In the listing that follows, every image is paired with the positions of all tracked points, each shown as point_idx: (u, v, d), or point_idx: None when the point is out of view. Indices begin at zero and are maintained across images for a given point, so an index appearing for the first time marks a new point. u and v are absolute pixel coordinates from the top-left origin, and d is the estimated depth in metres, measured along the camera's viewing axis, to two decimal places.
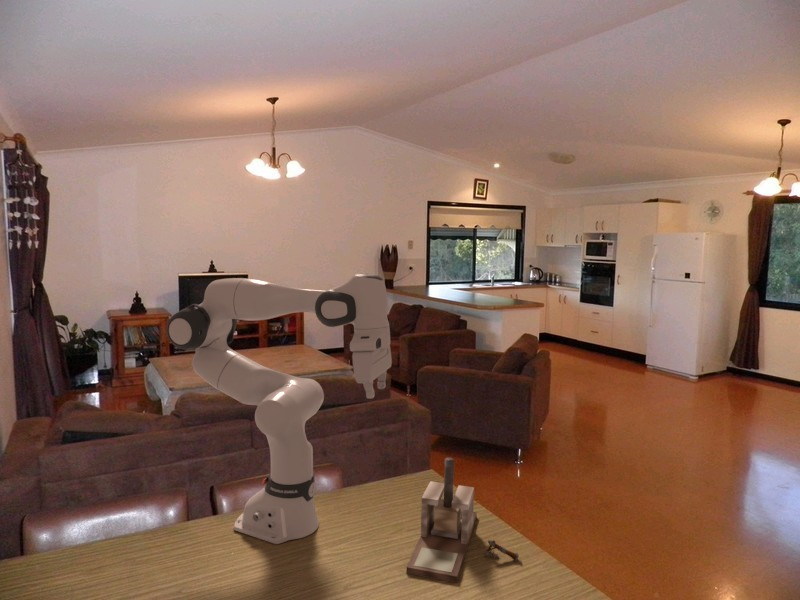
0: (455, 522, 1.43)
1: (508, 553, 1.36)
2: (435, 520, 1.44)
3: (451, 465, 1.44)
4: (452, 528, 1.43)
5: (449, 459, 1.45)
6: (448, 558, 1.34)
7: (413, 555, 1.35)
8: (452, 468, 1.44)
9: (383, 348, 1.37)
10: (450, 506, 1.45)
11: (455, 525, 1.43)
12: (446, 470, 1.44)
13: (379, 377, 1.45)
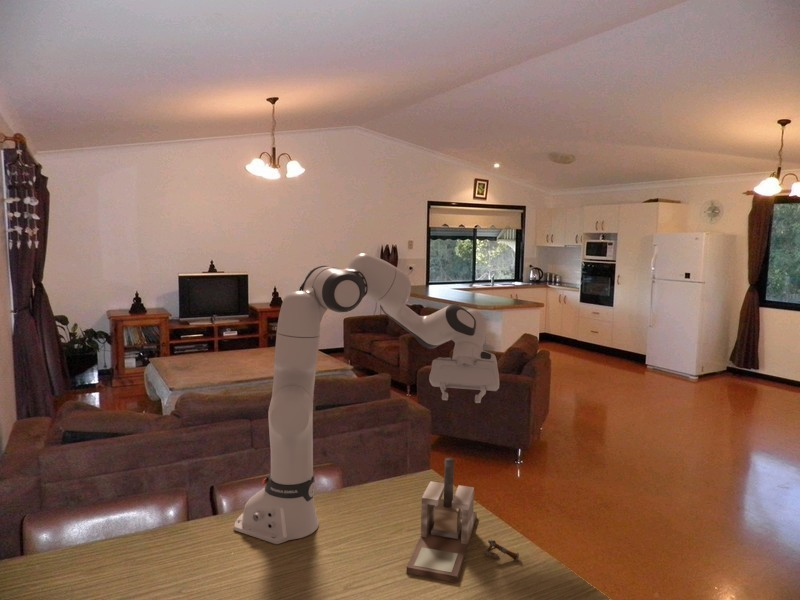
0: (455, 522, 1.43)
1: (508, 553, 1.36)
2: (435, 520, 1.44)
3: (451, 465, 1.44)
4: (452, 528, 1.43)
5: (449, 459, 1.45)
6: (448, 558, 1.34)
7: (413, 555, 1.35)
8: (452, 468, 1.44)
9: None
10: (450, 506, 1.45)
11: (455, 525, 1.43)
12: (446, 470, 1.44)
13: (443, 389, 1.60)
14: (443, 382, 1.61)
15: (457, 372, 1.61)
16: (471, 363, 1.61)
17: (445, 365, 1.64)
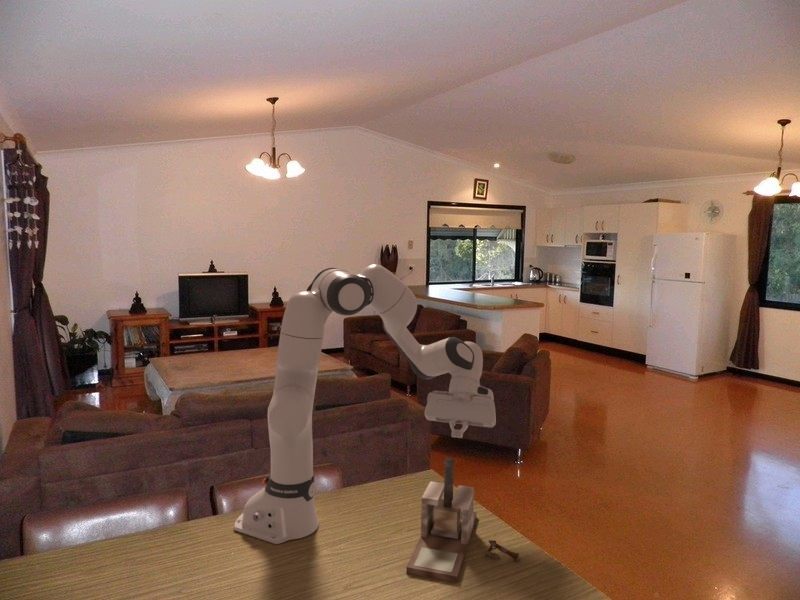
0: (455, 522, 1.43)
1: (509, 553, 1.36)
2: (435, 520, 1.44)
3: (451, 465, 1.44)
4: (452, 528, 1.43)
5: (449, 459, 1.45)
6: (448, 558, 1.34)
7: (413, 555, 1.35)
8: (452, 468, 1.44)
9: None
10: (450, 506, 1.45)
11: (455, 525, 1.43)
12: (446, 470, 1.44)
13: None
14: (439, 417, 1.58)
15: (453, 407, 1.59)
16: (467, 398, 1.59)
17: (441, 399, 1.61)
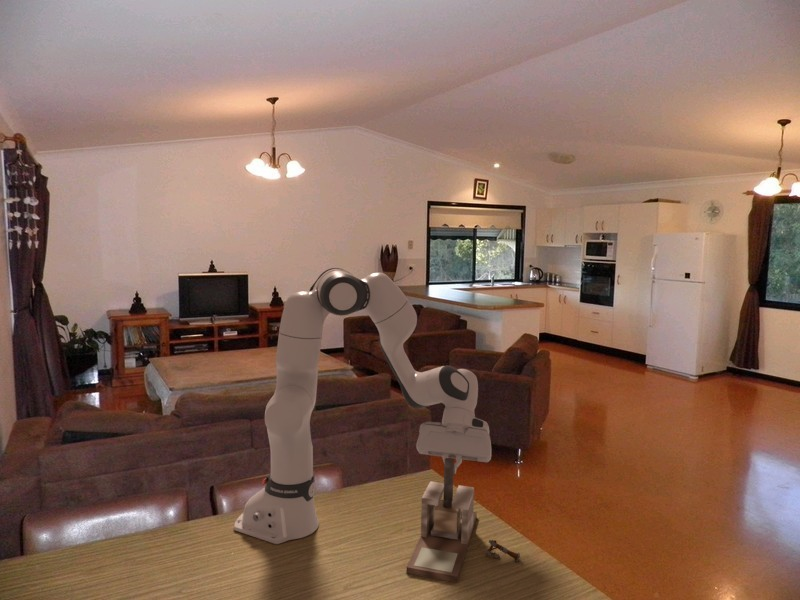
0: (455, 523, 1.42)
1: (509, 553, 1.36)
2: (435, 521, 1.44)
3: (451, 466, 1.43)
4: (452, 529, 1.43)
5: (449, 460, 1.44)
6: (448, 558, 1.34)
7: (413, 555, 1.35)
8: (452, 469, 1.44)
9: None
10: (450, 507, 1.45)
11: (455, 526, 1.43)
12: (446, 471, 1.44)
13: None
14: (431, 451, 1.50)
15: (446, 440, 1.50)
16: (461, 431, 1.50)
17: (434, 431, 1.53)
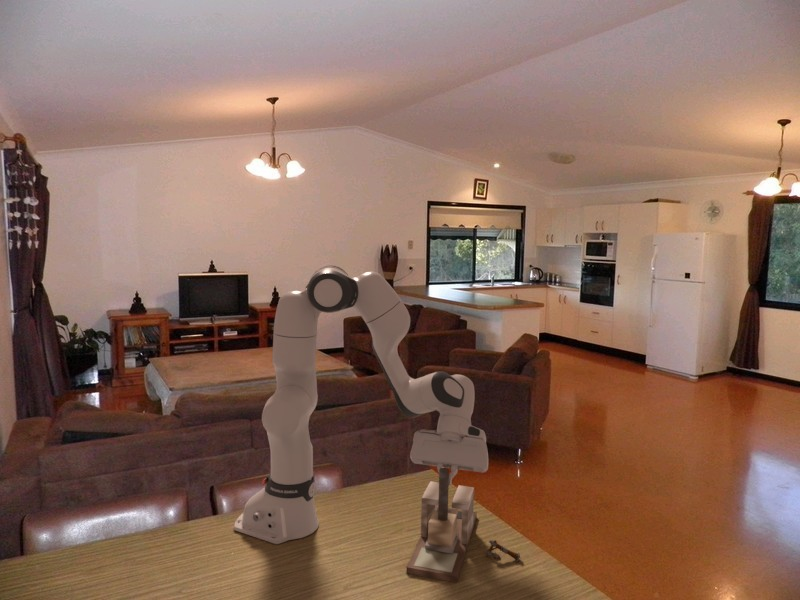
0: (450, 536, 1.36)
1: (510, 553, 1.36)
2: (429, 534, 1.38)
3: (446, 476, 1.37)
4: (447, 542, 1.37)
5: (444, 470, 1.38)
6: (448, 558, 1.34)
7: (413, 555, 1.35)
8: (447, 479, 1.37)
9: None
10: (445, 519, 1.38)
11: (450, 539, 1.36)
12: (441, 481, 1.37)
13: None
14: (425, 460, 1.43)
15: (441, 449, 1.44)
16: (457, 440, 1.44)
17: (428, 440, 1.46)
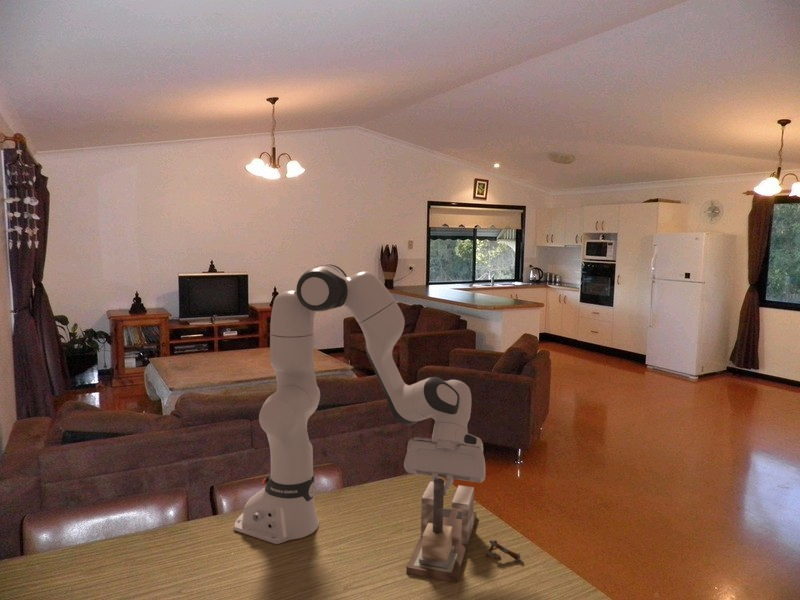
0: (445, 550, 1.30)
1: (510, 553, 1.36)
2: (423, 547, 1.32)
3: (441, 487, 1.31)
4: (442, 556, 1.31)
5: (438, 480, 1.32)
6: None
7: (413, 555, 1.35)
8: (442, 490, 1.31)
9: None
10: (440, 532, 1.32)
11: (445, 553, 1.30)
12: (435, 492, 1.31)
13: None
14: (420, 470, 1.37)
15: (436, 458, 1.38)
16: (453, 448, 1.38)
17: (423, 448, 1.41)
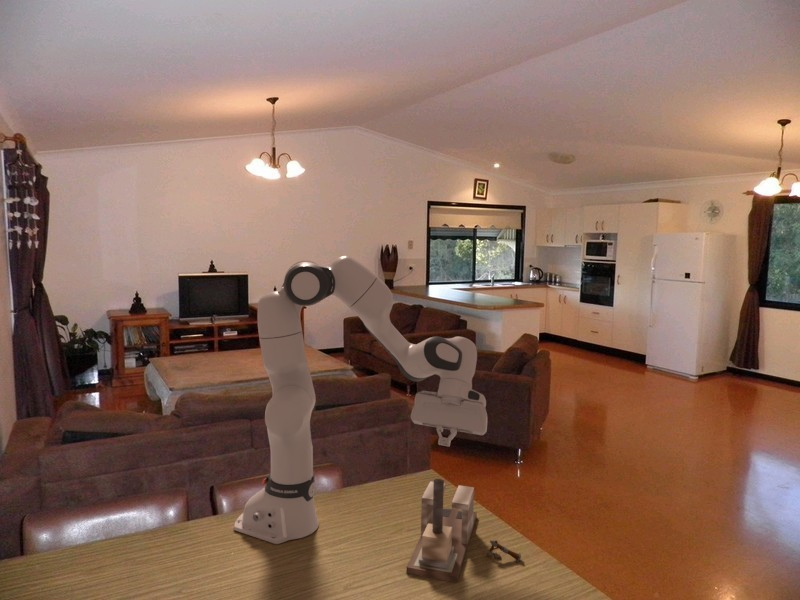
0: (445, 550, 1.30)
1: (510, 553, 1.36)
2: (423, 548, 1.31)
3: (440, 487, 1.31)
4: (441, 557, 1.30)
5: (438, 481, 1.32)
6: None
7: (413, 555, 1.35)
8: (442, 491, 1.31)
9: None
10: (439, 532, 1.32)
11: (445, 553, 1.30)
12: (435, 493, 1.31)
13: (440, 433, 1.45)
14: (425, 422, 1.47)
15: (441, 412, 1.47)
16: (457, 403, 1.46)
17: (429, 402, 1.49)
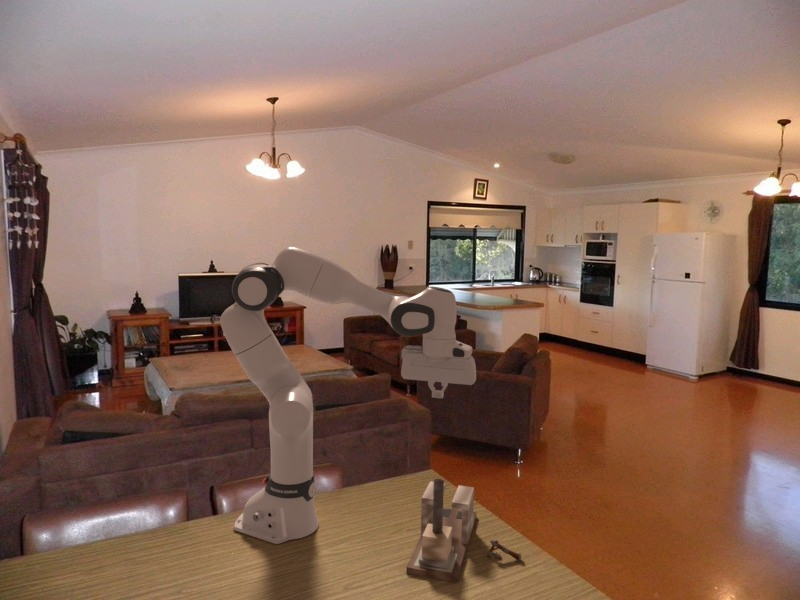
0: (445, 550, 1.30)
1: (511, 553, 1.36)
2: (423, 548, 1.31)
3: (440, 487, 1.31)
4: (441, 557, 1.30)
5: (438, 481, 1.32)
6: None
7: (413, 555, 1.35)
8: (442, 491, 1.31)
9: None
10: (439, 532, 1.32)
11: (445, 553, 1.30)
12: (435, 493, 1.31)
13: (432, 387, 1.50)
14: None
15: (429, 369, 1.49)
16: (443, 360, 1.47)
17: (416, 360, 1.50)
